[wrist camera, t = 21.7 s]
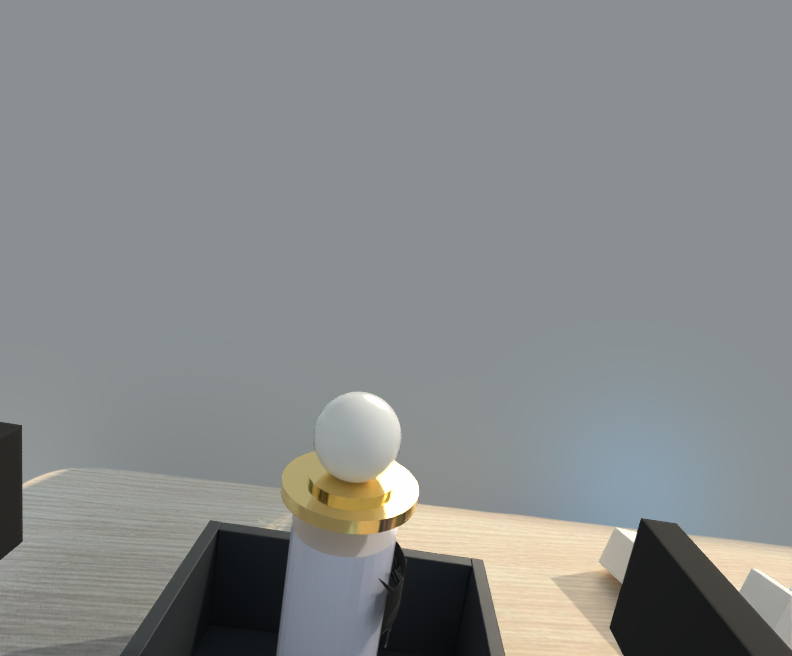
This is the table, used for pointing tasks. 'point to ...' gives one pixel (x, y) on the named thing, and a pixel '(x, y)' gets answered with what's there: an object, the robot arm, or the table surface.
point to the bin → (263, 594)
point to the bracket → (770, 599)
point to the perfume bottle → (345, 531)
